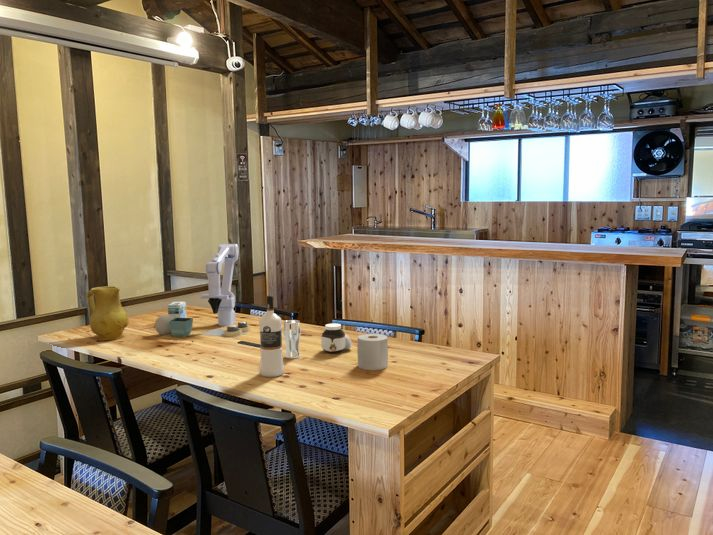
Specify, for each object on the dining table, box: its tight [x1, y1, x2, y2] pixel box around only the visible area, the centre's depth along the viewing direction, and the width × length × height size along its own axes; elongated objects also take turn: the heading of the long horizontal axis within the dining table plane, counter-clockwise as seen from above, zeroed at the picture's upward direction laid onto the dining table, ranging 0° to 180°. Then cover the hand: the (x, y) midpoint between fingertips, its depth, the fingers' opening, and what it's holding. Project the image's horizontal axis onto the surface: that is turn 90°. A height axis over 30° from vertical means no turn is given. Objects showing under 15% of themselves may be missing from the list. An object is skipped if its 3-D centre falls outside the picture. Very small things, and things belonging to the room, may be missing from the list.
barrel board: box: [200, 321, 251, 338], centre depth 281 cm, size 16×20×5 cm
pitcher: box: [86, 285, 130, 342], centre depth 277 cm, size 17×19×25 cm
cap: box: [226, 324, 238, 332], centre depth 276 cm, size 5×5×4 cm
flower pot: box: [169, 317, 194, 338], centre depth 275 cm, size 9×9×9 cm
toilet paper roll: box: [357, 333, 389, 371], centre depth 226 cm, size 12×12×12 cm
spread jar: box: [320, 323, 353, 355], centre depth 249 cm, size 12×11×12 cm
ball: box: [154, 314, 174, 336], centre depth 281 cm, size 10×10×10 cm
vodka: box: [258, 295, 285, 378], centre depth 215 cm, size 9×9×30 cm
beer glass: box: [283, 319, 301, 360], centre depth 240 cm, size 7×7×15 cm
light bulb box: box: [167, 301, 188, 318], centre depth 309 cm, size 11×7×11 cm, turn 179°
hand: (215, 313), depth 284 cm, fingers closed
